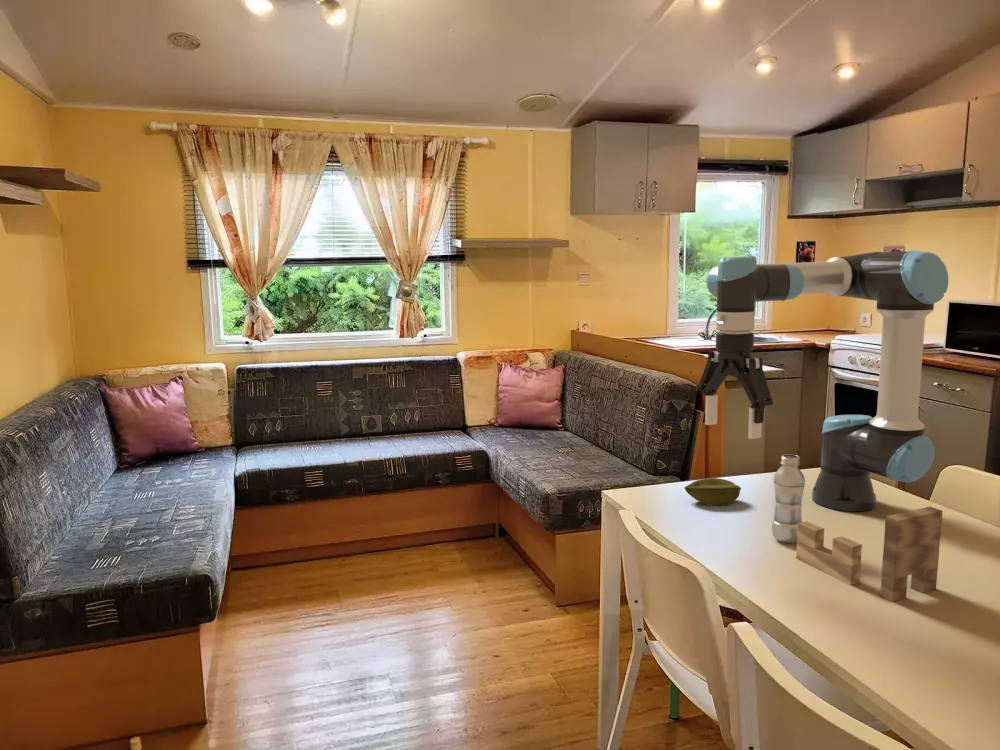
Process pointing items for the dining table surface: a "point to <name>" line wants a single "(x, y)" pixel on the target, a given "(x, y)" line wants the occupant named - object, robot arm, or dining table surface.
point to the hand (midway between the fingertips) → (731, 431)
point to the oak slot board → (829, 553)
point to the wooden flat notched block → (910, 552)
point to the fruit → (714, 491)
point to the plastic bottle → (788, 499)
